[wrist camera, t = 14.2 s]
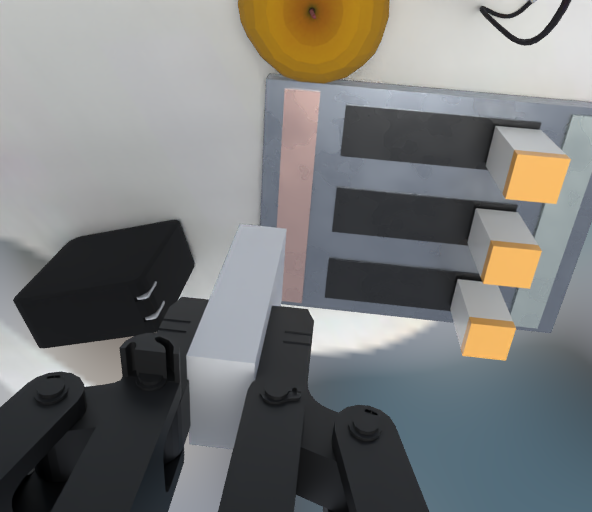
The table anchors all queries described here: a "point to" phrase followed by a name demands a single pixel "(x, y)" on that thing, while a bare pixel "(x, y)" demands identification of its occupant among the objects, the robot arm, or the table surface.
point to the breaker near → (527, 164)
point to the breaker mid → (503, 248)
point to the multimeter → (545, 32)
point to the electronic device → (107, 285)
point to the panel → (411, 195)
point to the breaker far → (482, 320)
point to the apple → (315, 35)
